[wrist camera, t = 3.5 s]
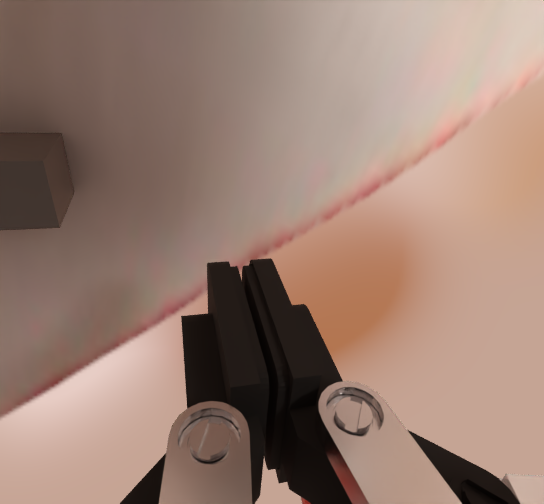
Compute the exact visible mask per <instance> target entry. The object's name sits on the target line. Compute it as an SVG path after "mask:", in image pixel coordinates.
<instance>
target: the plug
mask: <svg viewBox="0 0 544 504" xmlns="http://www.w3.org/2000/svg"><path fill="white" fill-rule="evenodd" d="M73 195H74V189H73V185H72V180H71V175H70V171H69V166H68V162H67V157H66V152H65V148H64V143H63V138H62V134H61V133H0V230H16V229H40V228H60V226H61V223H62V221H63V218H64V216H65V214H66V211H67V209H68V207H69V204H70V202H71V199H72V197H73Z"/></svg>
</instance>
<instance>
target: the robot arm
mask: <svg viewBox="0 0 544 504" xmlns="http://www.w3.org/2000/svg"><path fill="white" fill-rule="evenodd" d="M207 281H208V314H199V315H189V316H181V317H182V332H183V348H184V364H185V379H186V394H187V409H186V410H185V411H184V412H183V413H181V414H180V415H179V416H178V418H177V419H176V421H175V422H174V423H173V425H172V428H171V431H170V434H169V438H168V445H167V452H166V454H165V455H164V456H163V457H162V458H161V459H160V460H159V461H158V463H157V464H156V465H155V466H154V467H153V468H152V469H151V470H150V471H149V472H148V473H147V474H146V476H145V477H144V478H143V479H142V480H141V481H140V482H139V483H138V484H137V485H136V486H135V487H134V489H133V490H132V491H131V492H130V493H129V494H128V495H127V496H126V497H125V498H124V500H123V501H122V502H121V503H120V504H255V502H256V501H257V499H258V498H259V496H260V490H261V480H262V469H263V459H264V457H265V462H266V465H267V468H268V470H271V469H276V473H277V478H278V481H279V483H283V482H288V486H289V489H290V490H292V491H293V492H295V493H296V494H298V495H299V496H301V500H302V504H544V476H536V475H515V474H506V475H505V476H504V478H503V479H499V478H497V477H496V476H494V475H493V474H491V473H489V472H488V471H486V470H484V469H482V468H480V467H479V466H477V465H475V464H473V463H471V462H469V461H467V460H465V459H463V458H461V457H459V456H457V455H455V454H453V453H451V452H449V451H447V450H446V449H443V448H442V447H440V446H438V445H436V444H434V443H432V442H430V441H428V440H426V439H424V438H422V437H420V436H418V435H416V434H414V433H412V432H410V431H409V430H407V429H406V428H405V426H404V425H403V424H402V422H401V421H400V420H399V418H398V417H397V416H396V414H395V413H394V412H393V410H392V409H391V408H390V406H389V405H388V404H387V402H386V401H385V400H384V399H383V398H382V397H381V396H380V395H379V394H378V392H376V391H374V390H373V389H371V388H370V387H368V386H366V385H363V384H361V383H358V382H351V381H342V379H341V377H340V374H339V372H338V370H337V368H336V366H335V364H334V362H333V360H332V358H331V355H330V353H329V351H328V349H327V347H326V345H325V343H324V341H323V339H322V337H321V335H320V332H319V330H318V328H317V326H316V324H315V322H314V320H313V318H312V316H311V314H310V311H309V309H308V308H307V306H306V305H304V304H301V305H292V304H291V302H290V300H289V297H288V295H287V293H286V290H285V288H284V286H283V284H282V281H281V279H280V277H279V274H278V272H277V269H276V267H275V265H274V263H273V261H272V259H257V260H251V261H250V264H249V266H243V268H242V281H241V277H240V274H239V270H238V267H237V266H235V267H230V264H229V262H214V263H208V264H207Z"/></svg>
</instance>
